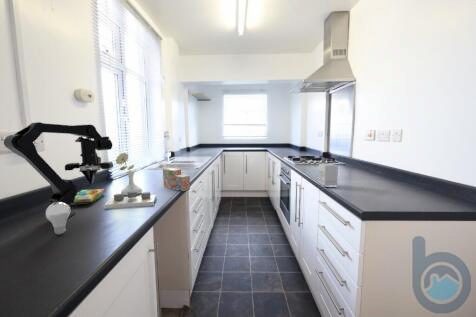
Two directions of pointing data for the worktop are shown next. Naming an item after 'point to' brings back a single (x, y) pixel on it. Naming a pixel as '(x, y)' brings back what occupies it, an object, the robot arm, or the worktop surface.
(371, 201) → the worktop surface
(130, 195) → the button middle
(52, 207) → the light bulb
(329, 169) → the supplement box
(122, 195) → the button near
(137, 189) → the flower in vase
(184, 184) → the stack of blocks
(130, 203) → the button board
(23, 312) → the worktop surface
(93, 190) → the puzzle game
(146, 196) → the button far
